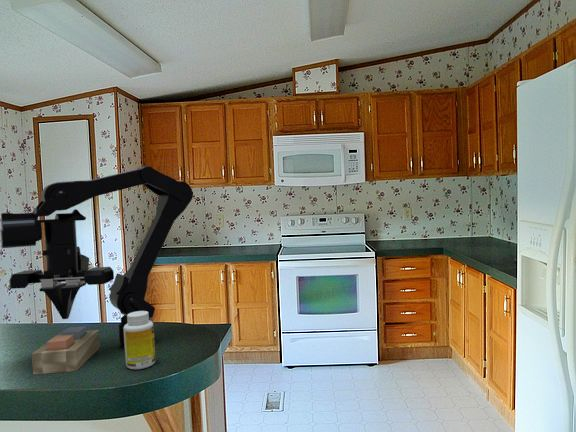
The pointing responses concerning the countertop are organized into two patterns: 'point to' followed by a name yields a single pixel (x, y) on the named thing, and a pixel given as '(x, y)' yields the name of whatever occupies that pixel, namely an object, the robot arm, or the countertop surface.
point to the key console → (66, 355)
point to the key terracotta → (60, 342)
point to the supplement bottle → (139, 340)
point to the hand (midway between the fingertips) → (65, 318)
